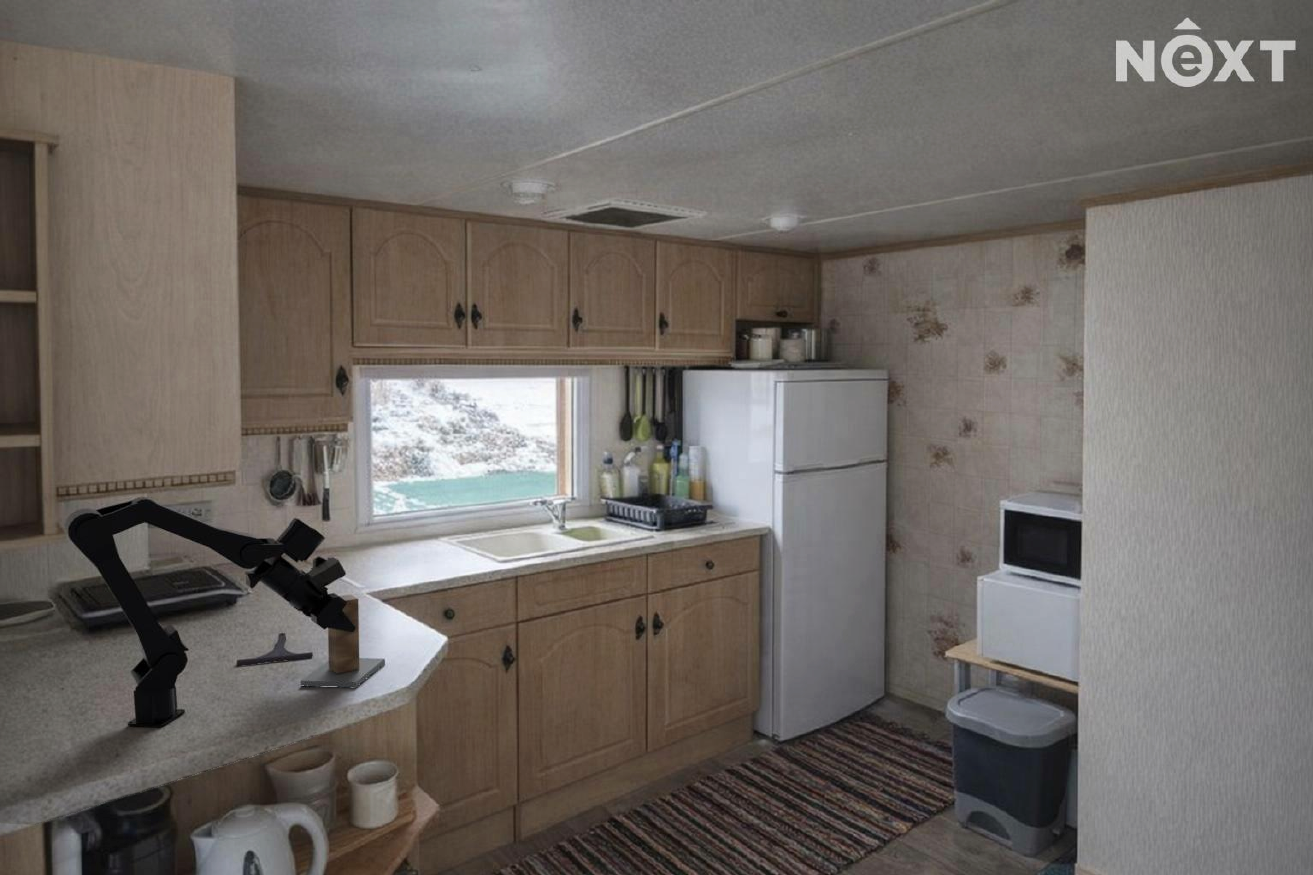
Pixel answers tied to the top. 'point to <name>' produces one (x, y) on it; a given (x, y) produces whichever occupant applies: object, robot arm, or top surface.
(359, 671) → the far plate
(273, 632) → the top surface
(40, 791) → the top surface
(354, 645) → the walnut block
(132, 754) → the top surface
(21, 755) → the top surface
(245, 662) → the squeegee
